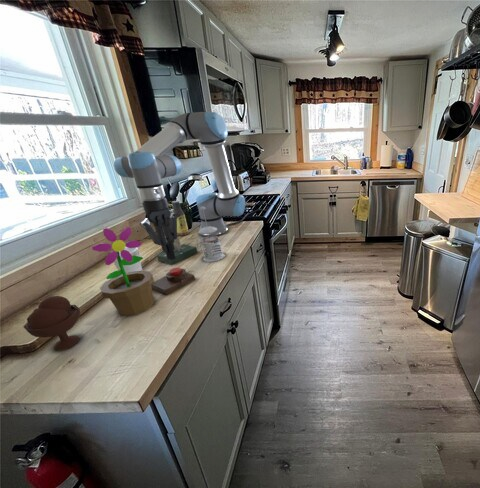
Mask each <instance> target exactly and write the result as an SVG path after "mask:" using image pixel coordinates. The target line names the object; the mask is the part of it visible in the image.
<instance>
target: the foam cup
mask: <svg viewBox="0 0 480 488" xmlns="http://www.w3.org/2000/svg"><path fill="white" fill-rule="evenodd" d="M124 250H127V251H129V252H130V254H131V255H132V256H134V255H135V256H139V257H141V255H140V253H141V252H140V250H139V247H137V248H128V247H125V248H124ZM112 251H113V250H111V251H110V252H112ZM119 254H120V251H119ZM120 258H121V260H122V259H123V258H122V257H121V255H120ZM112 264H113V265H114V266H115V268H116V269H117V270H121V269H120V267H119V264H118V260H117V258H116V260H115V261H114V262H113V263H112ZM123 267H124V270H125V273H128V272H134V271H143V267H142V261H141V260H140V261H139V262H137V263H135V264H132V265H123Z"/></svg>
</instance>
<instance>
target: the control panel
mask: <svg viewBox="0 0 480 488" xmlns="http://www.w3.org/2000/svg"><path fill="white" fill-rule="evenodd" d="M180 245H181V248H182V252H180V253H174V254H175V258H176V259H174V260H170V259H168V258H167V255H166V253H165V252H163V251H162V252H160V253H157V254H156V257H157V261H158V262H162V263H164V264H167V265H173V264H175V263H178V262H180V261H182V260H185V259H187V258H189V257H191V256H193V255H197V254H198V253H199V252H198V247H197V246H193V245H189V244H186V243H182V244H180Z"/></svg>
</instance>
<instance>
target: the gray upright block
mask: <svg viewBox="0 0 480 488" xmlns="http://www.w3.org/2000/svg"><path fill="white" fill-rule="evenodd" d="M165 239H166V237H165ZM174 241H175V242H174V243H173V244H174V247H175V249H174V250H173V251H174V253H180V252H182V248H181V245H182V244H181V241H180V238H179V237H178V236H177V239H175V240H174ZM166 242H168V241H166Z"/></svg>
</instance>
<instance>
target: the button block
mask: <svg viewBox="0 0 480 488" xmlns="http://www.w3.org/2000/svg"><path fill="white" fill-rule="evenodd" d="M181 271H182V273H181V274H179V275H176V276H171V275H170V272H169V271H168V272H167V273H166V274H165V276H163V277H161V278H159V279H156V280H154V281H153V282H152V284H151V287H152V290H154V291H157V292H159V293H161V294H164V295H167V296H168V295H169V294H171V293H173V292H175V291H177V290H179V289H180V288H182V287H184V286H186V285H187V284H190V283H192V282H194V281H195V280H196V277H195V274H192V273H189V272H187V270H186V269H185V268H181Z"/></svg>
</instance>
